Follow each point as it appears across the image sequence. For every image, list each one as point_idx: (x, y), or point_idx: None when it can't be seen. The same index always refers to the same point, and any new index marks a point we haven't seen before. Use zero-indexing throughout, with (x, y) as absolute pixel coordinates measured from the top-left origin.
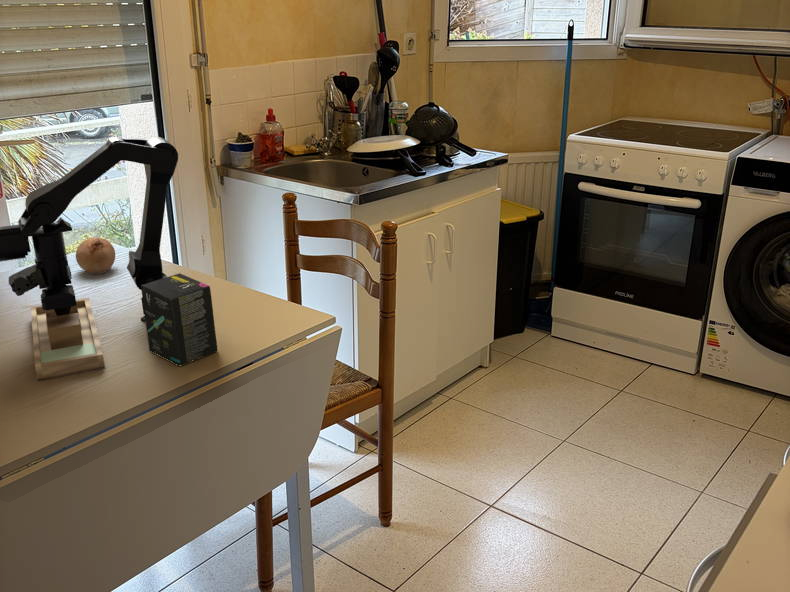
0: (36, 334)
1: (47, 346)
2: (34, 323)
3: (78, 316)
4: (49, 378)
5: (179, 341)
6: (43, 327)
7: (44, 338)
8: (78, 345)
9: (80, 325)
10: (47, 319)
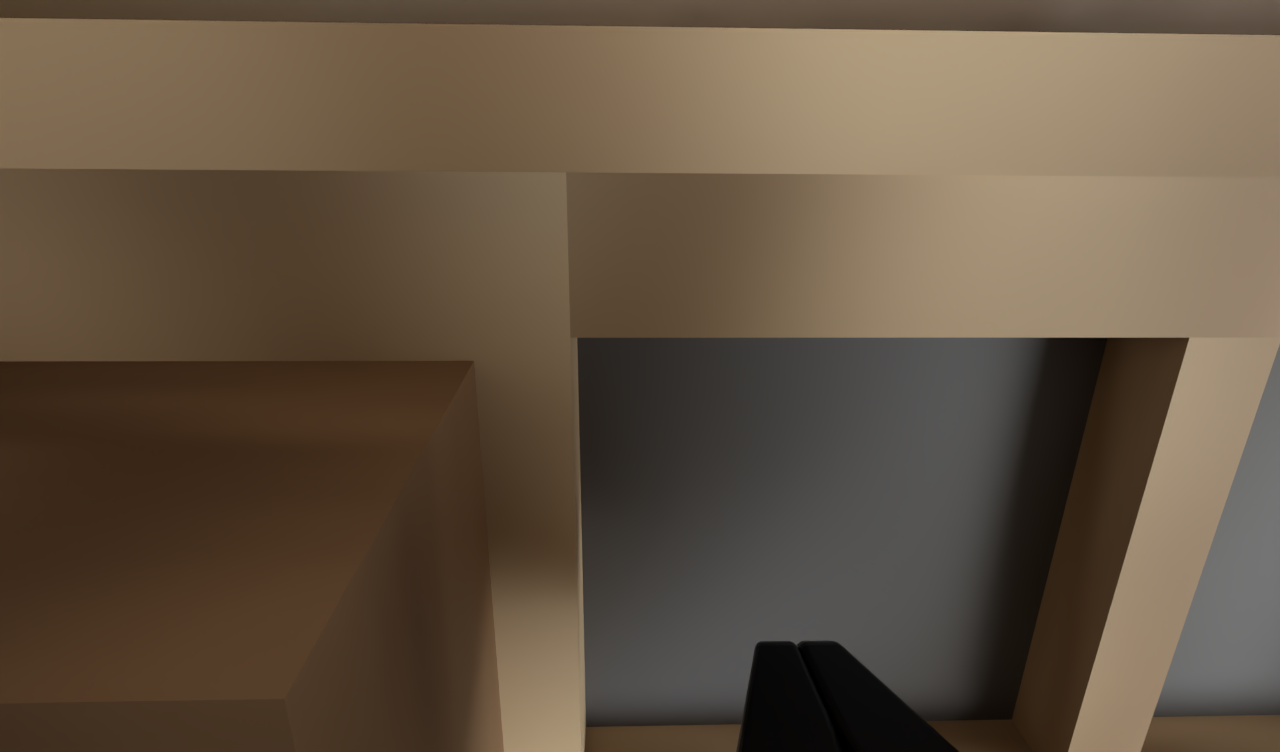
0: (359, 127)
1: (58, 301)
2: (1146, 105)
3: (1266, 711)
4: None
5: None
6: (1051, 266)
7: (479, 263)
8: None
9: (942, 717)
10: (78, 743)
